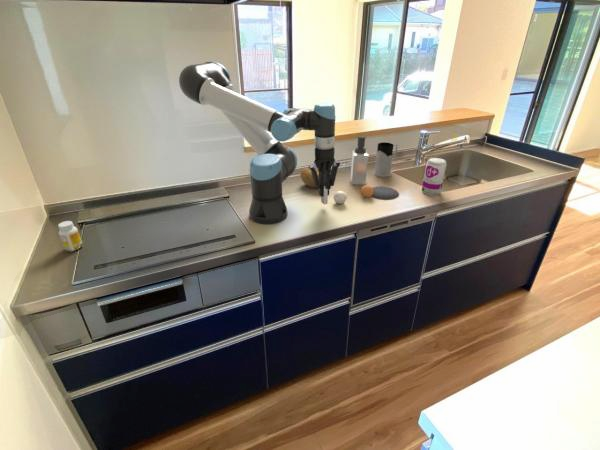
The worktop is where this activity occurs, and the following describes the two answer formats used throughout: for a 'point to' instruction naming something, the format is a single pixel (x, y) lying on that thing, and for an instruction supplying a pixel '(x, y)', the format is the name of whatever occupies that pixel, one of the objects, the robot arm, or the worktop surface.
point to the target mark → (384, 193)
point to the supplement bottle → (69, 235)
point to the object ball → (367, 191)
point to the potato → (308, 177)
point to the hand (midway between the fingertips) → (324, 202)
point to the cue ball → (340, 197)
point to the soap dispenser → (359, 163)
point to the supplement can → (434, 176)
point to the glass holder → (384, 159)
